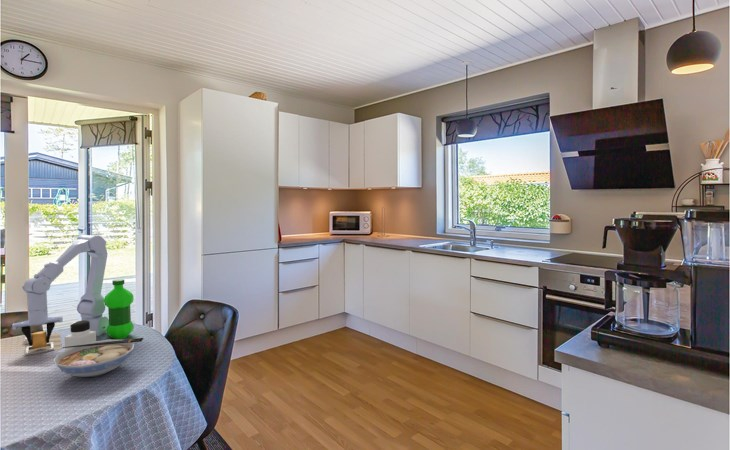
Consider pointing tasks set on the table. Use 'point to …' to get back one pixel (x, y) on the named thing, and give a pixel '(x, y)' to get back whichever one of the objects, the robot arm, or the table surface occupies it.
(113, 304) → the plastic bottle
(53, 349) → the grey square frame
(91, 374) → the ramen bowl
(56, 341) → the tan flat plate
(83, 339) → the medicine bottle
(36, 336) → the cap
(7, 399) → the table surface
